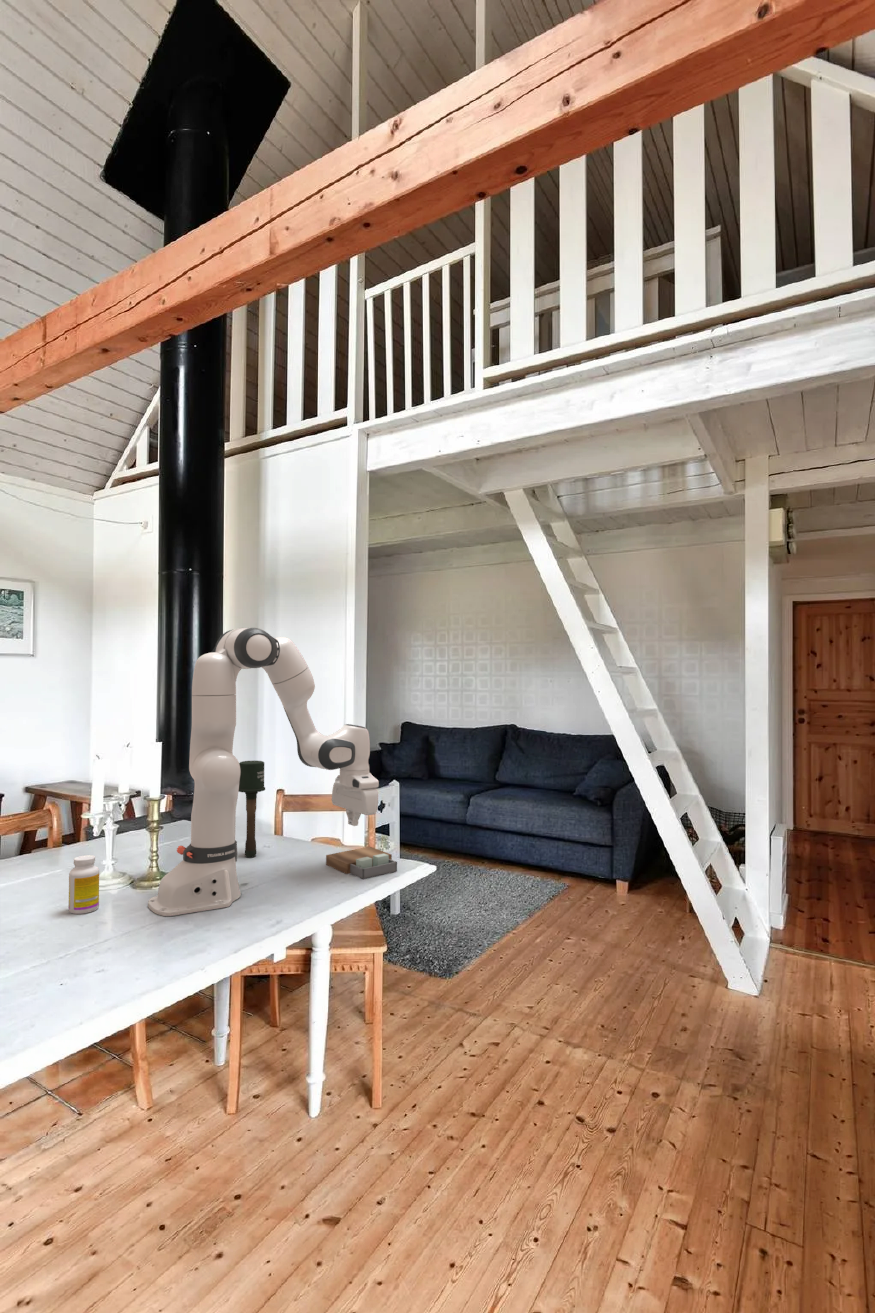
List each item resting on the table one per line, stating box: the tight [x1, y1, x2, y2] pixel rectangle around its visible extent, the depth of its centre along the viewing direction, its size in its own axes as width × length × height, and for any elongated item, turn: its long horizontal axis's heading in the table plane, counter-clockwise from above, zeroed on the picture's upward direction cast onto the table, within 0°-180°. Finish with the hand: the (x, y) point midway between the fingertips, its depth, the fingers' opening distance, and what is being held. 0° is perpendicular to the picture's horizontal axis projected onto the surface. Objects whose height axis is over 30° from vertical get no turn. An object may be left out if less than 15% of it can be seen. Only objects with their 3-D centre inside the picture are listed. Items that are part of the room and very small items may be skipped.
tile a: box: [356, 857, 372, 869], centre depth 195 cm, size 4×4×2 cm
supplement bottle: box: [68, 854, 100, 915], centre depth 164 cm, size 7×7×13 cm
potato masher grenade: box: [238, 760, 266, 859], centre depth 212 cm, size 8×9×30 cm
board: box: [325, 845, 393, 875], centre depth 204 cm, size 16×12×3 cm
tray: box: [349, 859, 398, 880], centre depth 196 cm, size 12×7×3 cm, turn 130°
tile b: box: [373, 853, 389, 867], centre depth 199 cm, size 4×4×2 cm
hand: (353, 825), depth 199 cm, fingers closed
